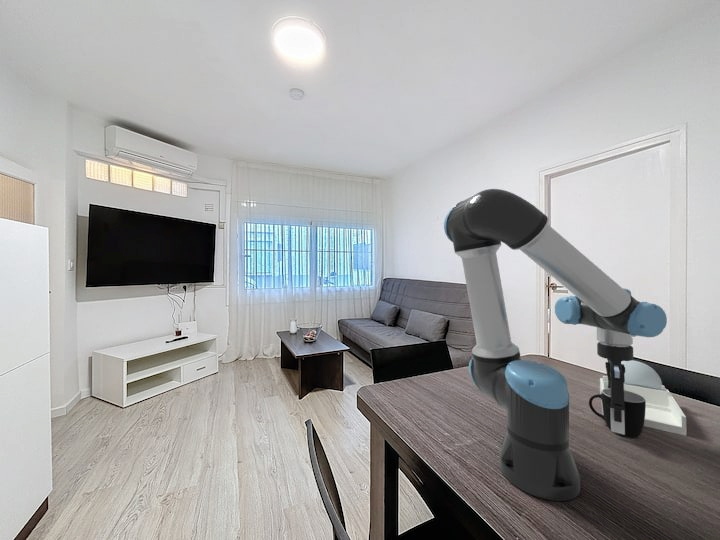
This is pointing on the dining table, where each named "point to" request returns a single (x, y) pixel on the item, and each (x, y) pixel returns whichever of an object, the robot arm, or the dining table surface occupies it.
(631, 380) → the plate in rack
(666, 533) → the dining table surface
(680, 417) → the dish rack
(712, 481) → the dining table surface
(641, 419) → the mug
